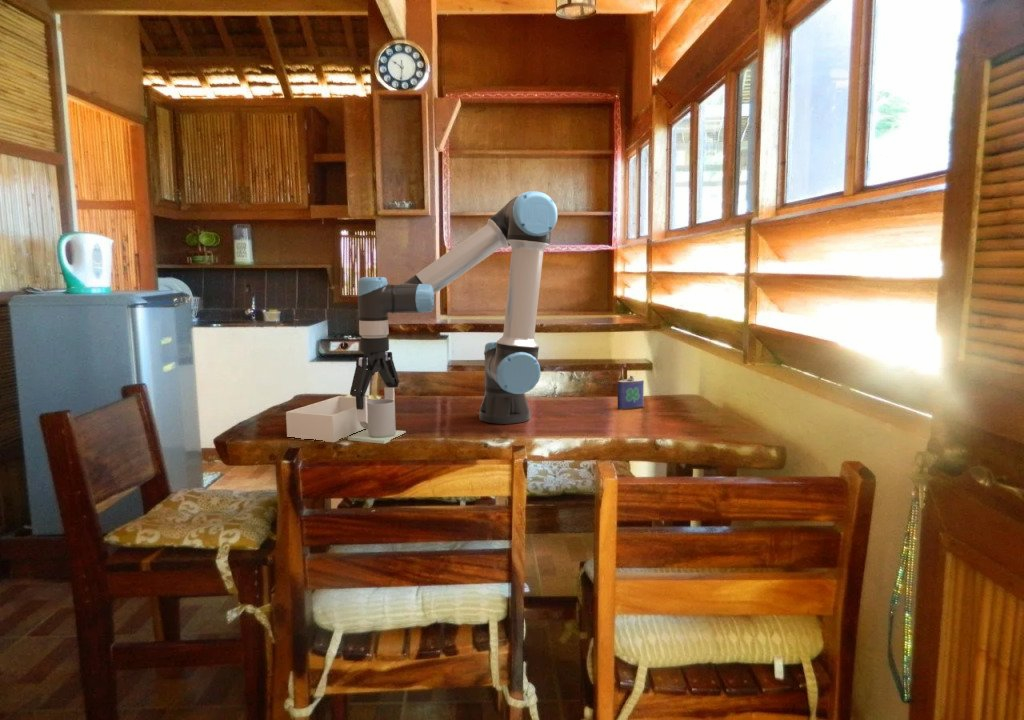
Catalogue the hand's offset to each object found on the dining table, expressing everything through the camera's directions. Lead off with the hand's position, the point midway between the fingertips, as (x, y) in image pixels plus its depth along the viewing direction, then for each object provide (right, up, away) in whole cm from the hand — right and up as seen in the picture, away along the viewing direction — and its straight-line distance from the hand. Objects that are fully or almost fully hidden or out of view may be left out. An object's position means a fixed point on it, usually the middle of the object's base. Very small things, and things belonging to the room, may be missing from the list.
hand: (376, 416), depth 181 cm
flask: (+74, -1, +36) cm, 82 cm away
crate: (-13, -5, +9) cm, 16 cm away
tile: (0, -6, +1) cm, 6 cm away
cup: (0, -5, 0) cm, 5 cm away
